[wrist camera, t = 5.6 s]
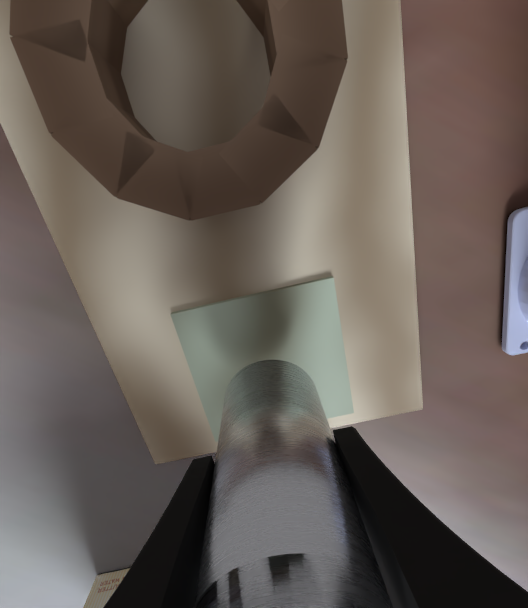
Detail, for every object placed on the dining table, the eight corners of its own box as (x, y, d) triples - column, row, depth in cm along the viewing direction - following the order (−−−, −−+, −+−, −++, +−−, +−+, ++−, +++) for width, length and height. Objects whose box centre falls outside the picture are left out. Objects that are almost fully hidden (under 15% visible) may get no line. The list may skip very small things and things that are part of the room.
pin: (309, 350, 12) (404, 590, 5) (323, 429, 13) (417, 719, 6) (213, 370, 12) (151, 635, 5) (236, 446, 14) (217, 753, 6)
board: (376, -171, 10) (435, -346, 7) (413, 398, 18) (449, 442, 15) (-60, -50, 11) (-195, -158, 8) (160, 451, 19) (140, 505, 15)
